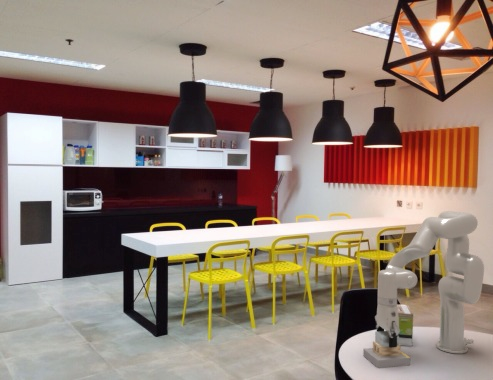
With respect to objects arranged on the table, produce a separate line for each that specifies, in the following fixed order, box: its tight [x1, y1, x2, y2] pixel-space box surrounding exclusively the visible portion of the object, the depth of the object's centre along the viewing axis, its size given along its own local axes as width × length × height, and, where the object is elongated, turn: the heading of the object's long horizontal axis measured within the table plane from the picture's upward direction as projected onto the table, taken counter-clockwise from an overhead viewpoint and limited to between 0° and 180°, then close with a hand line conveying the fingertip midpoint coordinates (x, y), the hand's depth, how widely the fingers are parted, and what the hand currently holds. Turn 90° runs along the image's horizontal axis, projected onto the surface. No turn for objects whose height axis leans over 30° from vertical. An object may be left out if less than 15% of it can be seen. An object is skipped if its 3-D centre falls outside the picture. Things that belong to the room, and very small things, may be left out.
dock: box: [362, 347, 411, 369], centre depth 180 cm, size 14×12×3 cm
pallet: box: [372, 330, 402, 357], centre depth 179 cm, size 9×6×8 cm, turn 102°
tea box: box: [390, 303, 414, 347], centre depth 203 cm, size 15×10×15 cm, turn 168°
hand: (386, 342), depth 179 cm, fingers open, 9 cm apart
